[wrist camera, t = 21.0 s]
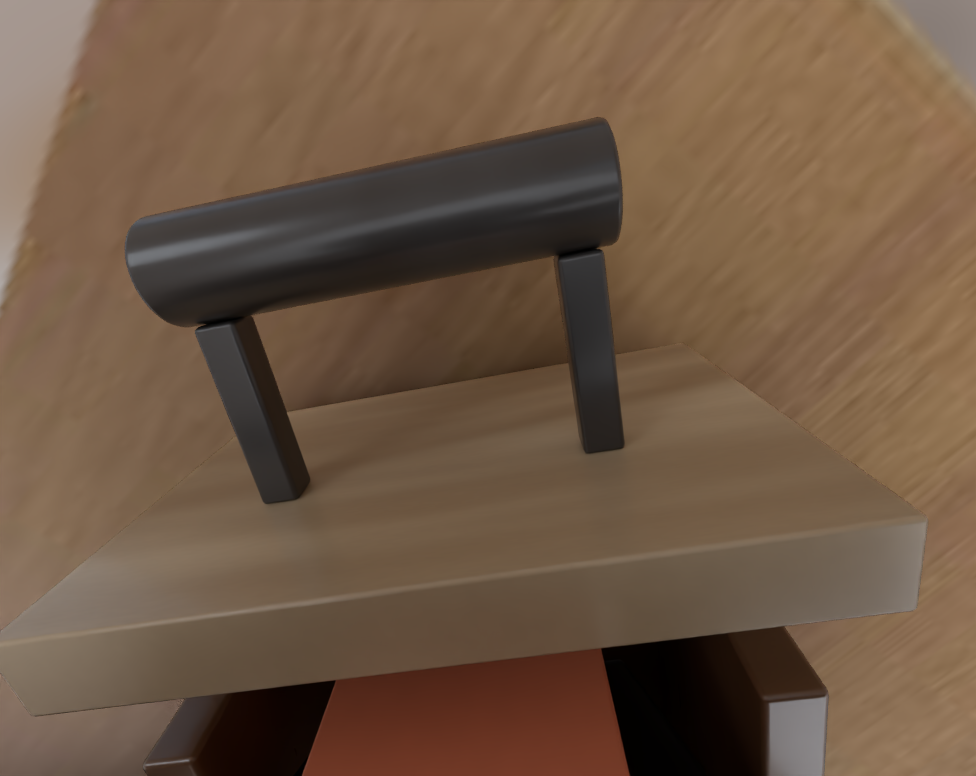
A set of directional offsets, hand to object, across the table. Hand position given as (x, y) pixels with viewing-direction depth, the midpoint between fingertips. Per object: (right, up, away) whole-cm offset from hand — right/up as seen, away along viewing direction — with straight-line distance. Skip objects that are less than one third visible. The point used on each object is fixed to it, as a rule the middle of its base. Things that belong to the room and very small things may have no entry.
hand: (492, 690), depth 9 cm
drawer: (0, +2, +4) cm, 5 cm away
